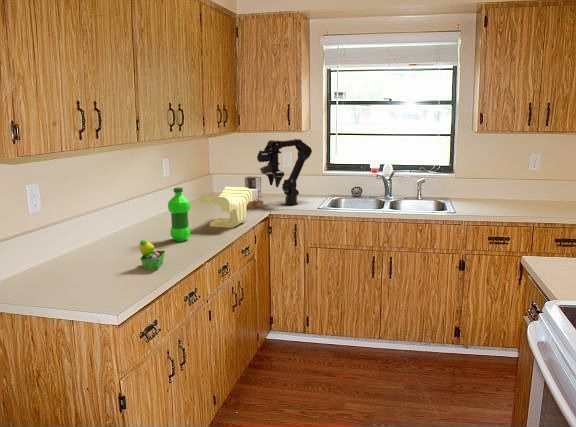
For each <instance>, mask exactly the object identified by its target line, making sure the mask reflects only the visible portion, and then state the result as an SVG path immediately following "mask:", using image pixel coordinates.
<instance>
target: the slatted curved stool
mask: <svg viewBox="0 0 576 427" xmlns="http://www.w3.org/2000/svg"><path fill="white" fill-rule="evenodd" d="M250 201H252V192H251V190H250V189H249V188H245V186H244V187H239V186H237V187H236V186H225V187H224V189H223V190H222V192H221V193H220V194H219V196H211V195H200V202H203V203H207V204H209V205H216V206H217V205H218V207H219V208H220V209H221V212H222V213H223V212H224V213H226V212H227V213H229V217H218V218H217V219H214V220H212V221H211V222H209V227H216V228H230V229H232V228H235V227H236V226H239V225H240V224H242V223H244V222H245V221H246V219H247V204H248V202H250Z"/></svg>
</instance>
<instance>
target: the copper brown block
mask: <svg viewBox="0 0 576 427" xmlns="http://www.w3.org/2000/svg"><path fill="white" fill-rule="evenodd" d="M262 208H264V201H263V200H262V199H261V200H259V199H258V200H257V201H254V202H251V201H250V202H248V204H247V208H246V210H254V209H262Z"/></svg>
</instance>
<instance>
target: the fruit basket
mask: <svg viewBox="0 0 576 427" xmlns="http://www.w3.org/2000/svg"><path fill="white" fill-rule="evenodd" d="M138 245H139V247H140V248H139V250H140V253H141V254H142V256H141V257H140V258H139V259H140V261H141V264H142V266H143V269H144V271H158V270H159V269H160V267H161V266H162V264H163V262H164V257H165V253H166V250H155V249H154V248H155V246H154V244H152V243H151V242H149V241H148V240H146V239H143V240H140V243H139V244H138Z"/></svg>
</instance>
